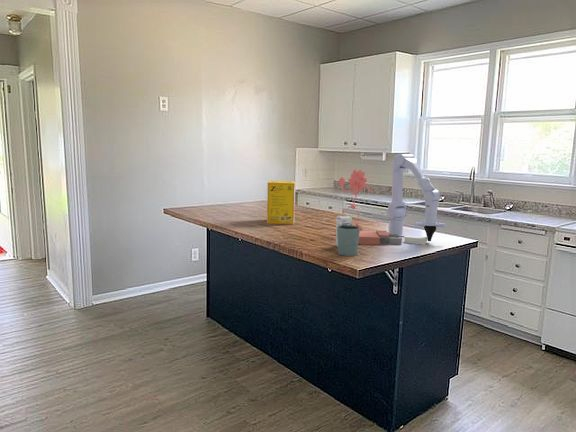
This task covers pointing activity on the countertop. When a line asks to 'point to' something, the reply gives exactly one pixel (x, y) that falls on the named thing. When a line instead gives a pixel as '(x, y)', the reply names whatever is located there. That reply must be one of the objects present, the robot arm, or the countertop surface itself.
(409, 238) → the chute
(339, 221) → the syrup box
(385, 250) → the countertop surface
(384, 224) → the countertop surface
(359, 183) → the pink flower bunch
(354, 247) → the green tapered cup
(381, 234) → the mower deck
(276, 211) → the packaging box
